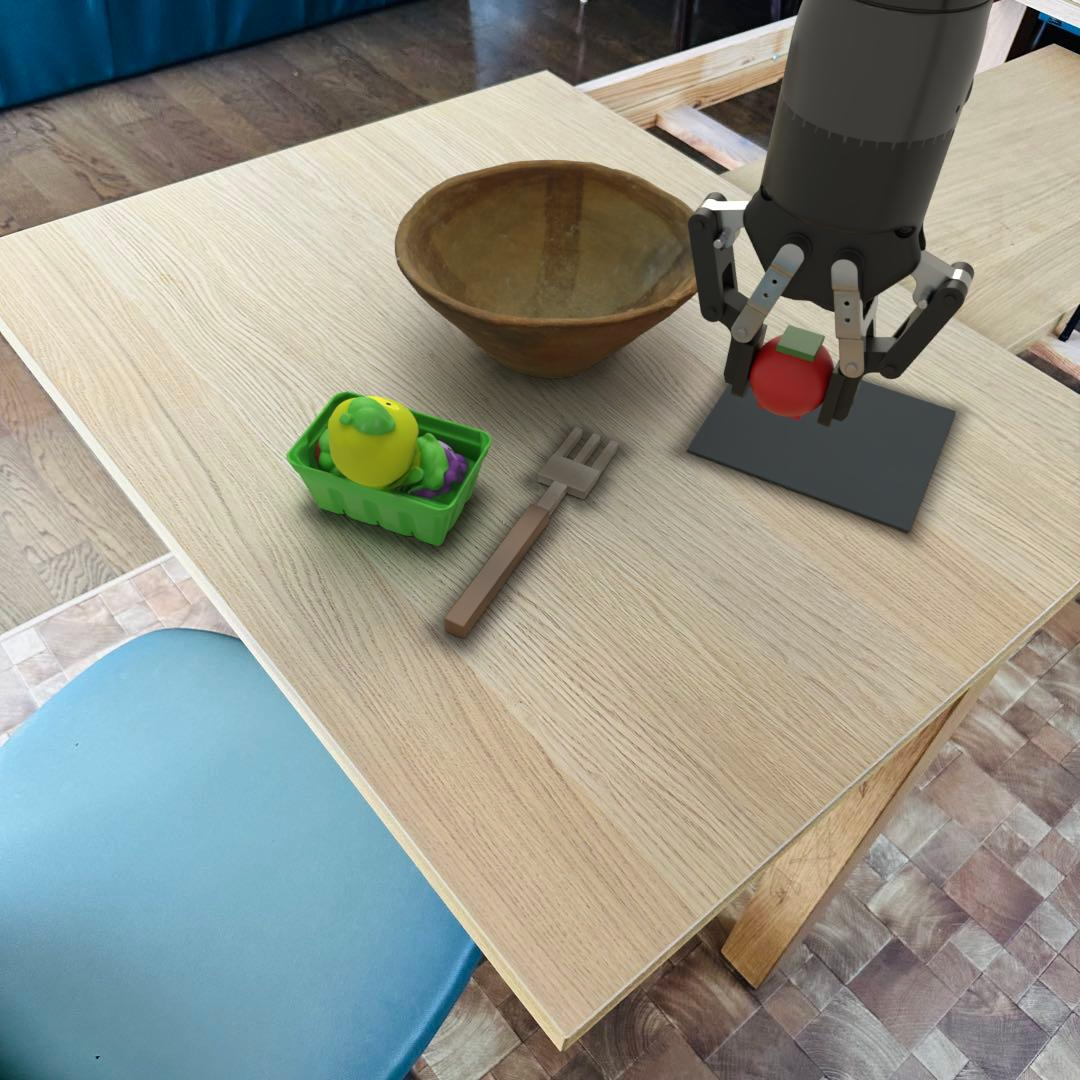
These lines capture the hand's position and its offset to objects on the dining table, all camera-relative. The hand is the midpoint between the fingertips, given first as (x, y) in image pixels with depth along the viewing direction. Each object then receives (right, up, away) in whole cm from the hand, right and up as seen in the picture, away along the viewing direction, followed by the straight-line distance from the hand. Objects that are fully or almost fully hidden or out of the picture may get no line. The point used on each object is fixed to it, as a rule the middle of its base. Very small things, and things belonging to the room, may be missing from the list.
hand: (785, 401), depth 56 cm
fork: (-14, -7, +11) cm, 19 cm away
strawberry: (0, 0, 0) cm, 0 cm away
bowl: (-12, +8, +25) cm, 29 cm away
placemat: (+7, 0, +19) cm, 20 cm away
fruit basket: (-23, -6, +12) cm, 27 cm away
